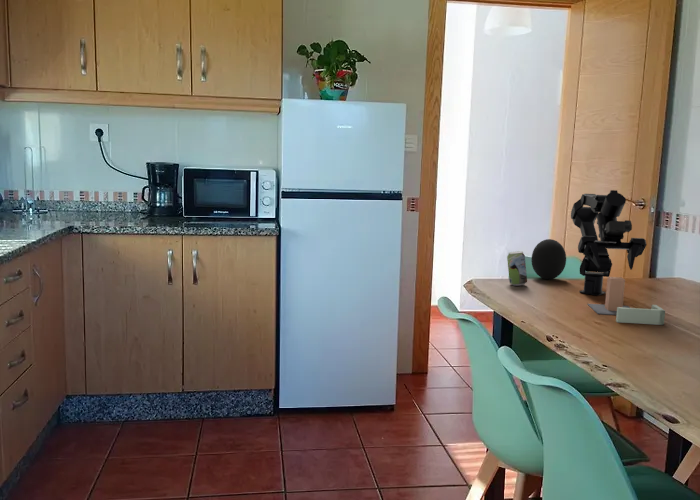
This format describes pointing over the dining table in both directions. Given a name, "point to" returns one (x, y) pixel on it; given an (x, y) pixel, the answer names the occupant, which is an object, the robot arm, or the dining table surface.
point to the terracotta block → (614, 293)
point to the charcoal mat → (603, 309)
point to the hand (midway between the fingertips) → (615, 268)
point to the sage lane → (641, 315)
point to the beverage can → (517, 268)
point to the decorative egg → (548, 259)
